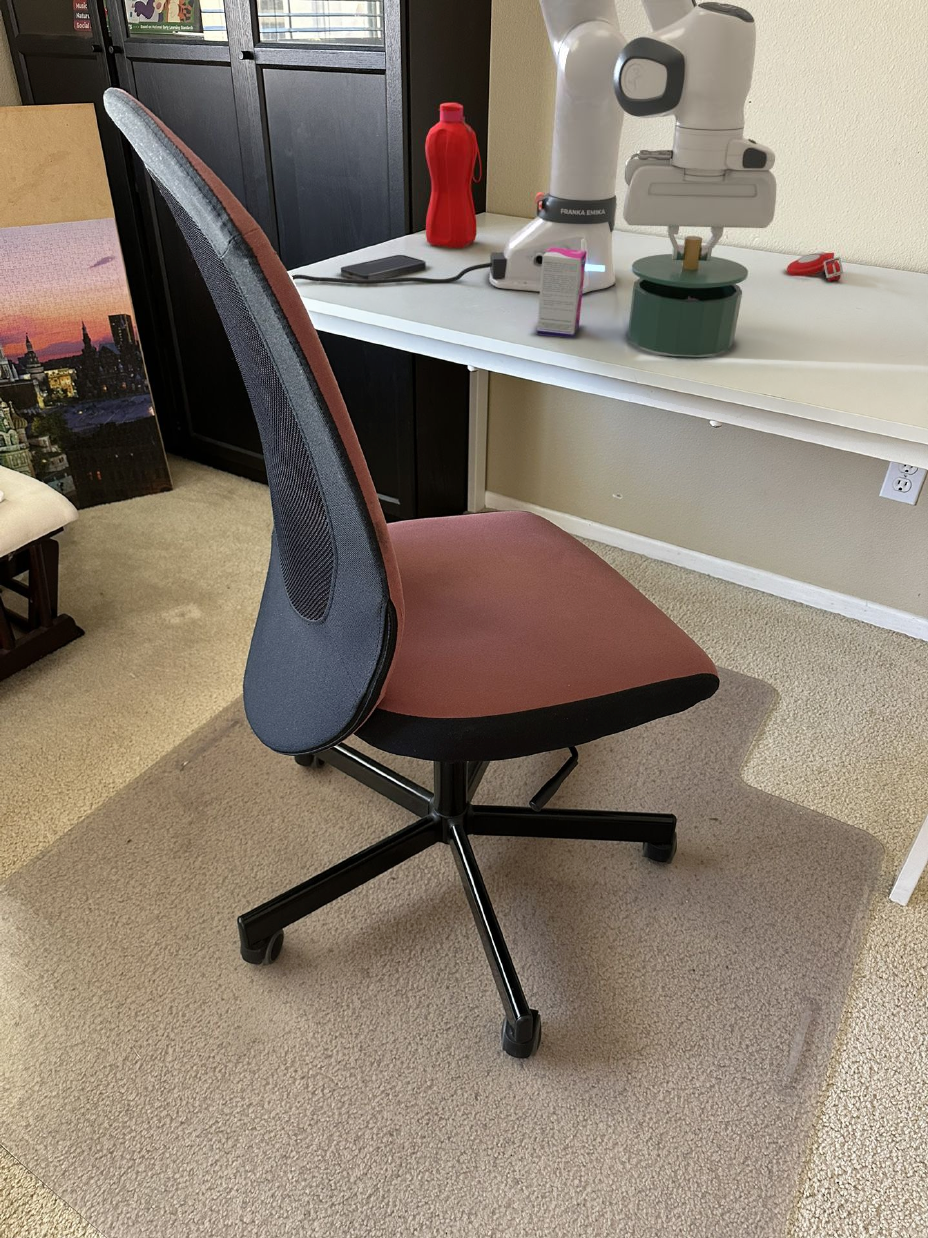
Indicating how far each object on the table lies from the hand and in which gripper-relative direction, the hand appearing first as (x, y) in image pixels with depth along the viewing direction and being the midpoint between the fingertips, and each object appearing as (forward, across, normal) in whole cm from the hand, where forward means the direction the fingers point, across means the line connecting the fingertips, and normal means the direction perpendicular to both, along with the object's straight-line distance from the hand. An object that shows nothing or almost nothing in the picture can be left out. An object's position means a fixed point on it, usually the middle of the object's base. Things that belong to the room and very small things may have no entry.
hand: (690, 259), depth 127 cm
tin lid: (+2, 0, 0) cm, 2 cm away
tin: (+12, 0, 0) cm, 12 cm away
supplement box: (+12, -18, +3) cm, 22 cm away
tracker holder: (+12, +29, +40) cm, 51 cm away
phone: (+11, -50, +34) cm, 62 cm away
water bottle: (+12, -40, +57) cm, 70 cm away
